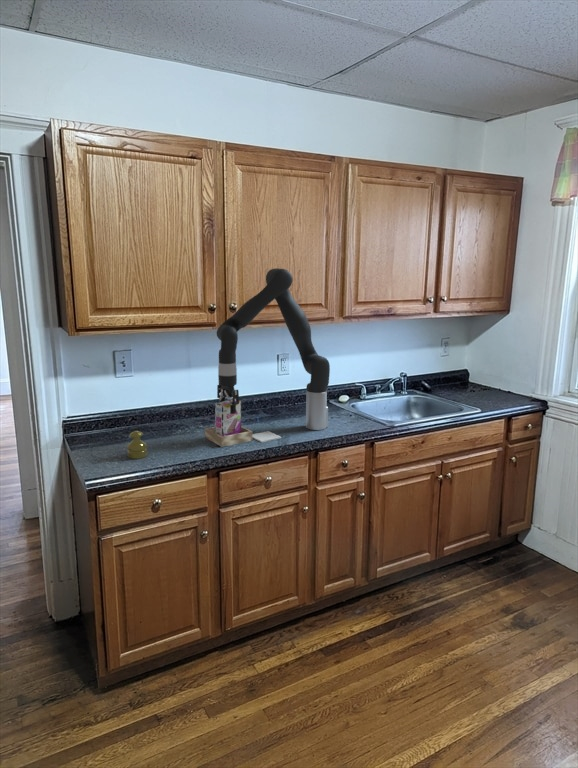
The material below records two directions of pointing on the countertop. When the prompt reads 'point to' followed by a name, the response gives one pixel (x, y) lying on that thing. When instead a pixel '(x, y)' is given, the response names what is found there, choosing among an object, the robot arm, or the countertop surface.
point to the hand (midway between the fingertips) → (228, 411)
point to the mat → (265, 436)
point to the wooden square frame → (228, 437)
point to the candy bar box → (227, 419)
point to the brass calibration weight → (136, 446)
